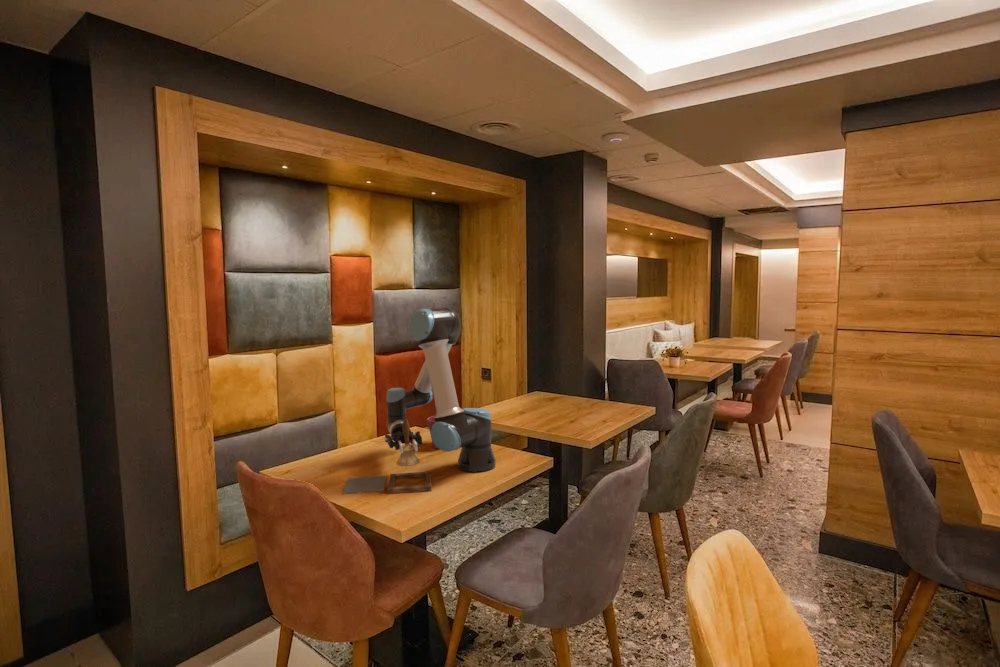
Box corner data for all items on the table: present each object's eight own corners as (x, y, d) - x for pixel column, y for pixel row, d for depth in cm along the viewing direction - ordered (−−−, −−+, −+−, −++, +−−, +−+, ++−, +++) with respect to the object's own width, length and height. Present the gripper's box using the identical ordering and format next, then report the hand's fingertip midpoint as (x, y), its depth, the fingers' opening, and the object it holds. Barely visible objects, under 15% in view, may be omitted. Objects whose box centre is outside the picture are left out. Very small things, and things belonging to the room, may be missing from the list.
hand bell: (423, 463, 184) (420, 419, 183) (400, 467, 180) (398, 423, 178) (415, 457, 191) (412, 415, 190) (393, 461, 187) (390, 418, 186)
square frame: (430, 475, 194) (430, 471, 194) (431, 490, 180) (431, 486, 180) (390, 477, 192) (390, 473, 192) (387, 493, 177) (387, 489, 177)
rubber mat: (386, 476, 193) (386, 475, 193) (383, 491, 180) (383, 490, 180) (348, 479, 191) (348, 478, 191) (342, 493, 178) (342, 492, 178)
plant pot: (459, 441, 238) (459, 414, 237) (459, 450, 224) (458, 421, 223) (428, 442, 237) (428, 414, 236) (426, 450, 223) (425, 422, 222)
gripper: (422, 438, 205) (434, 455, 183) (378, 443, 200) (384, 462, 178) (421, 420, 205) (433, 435, 183) (377, 425, 199) (383, 441, 177)
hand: (409, 448), depth 180 cm, fingers closed on hand bell, 4 cm apart
